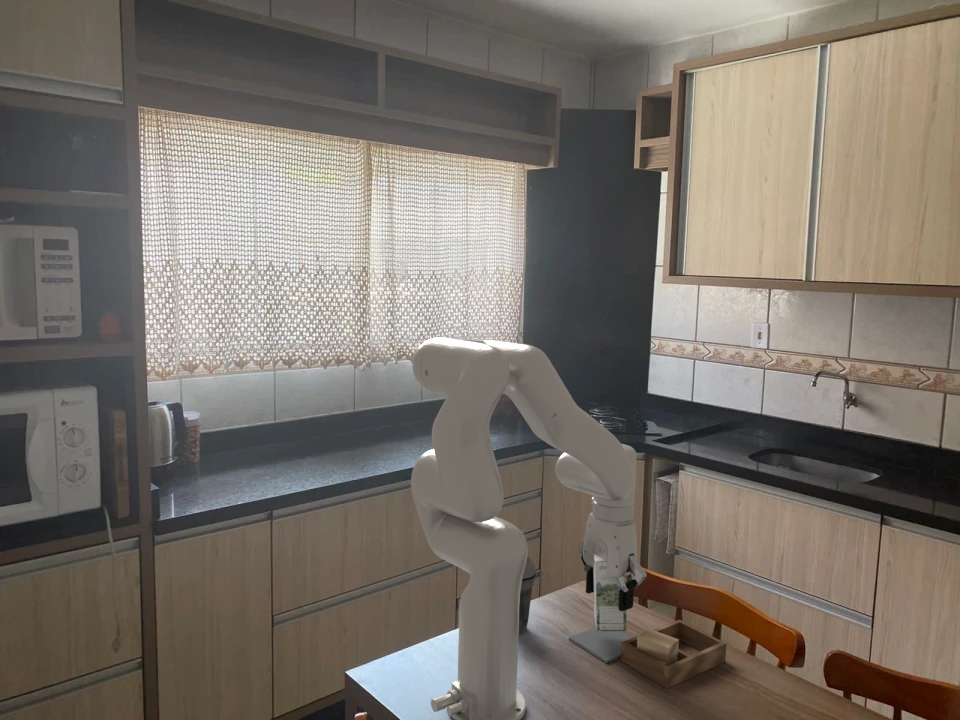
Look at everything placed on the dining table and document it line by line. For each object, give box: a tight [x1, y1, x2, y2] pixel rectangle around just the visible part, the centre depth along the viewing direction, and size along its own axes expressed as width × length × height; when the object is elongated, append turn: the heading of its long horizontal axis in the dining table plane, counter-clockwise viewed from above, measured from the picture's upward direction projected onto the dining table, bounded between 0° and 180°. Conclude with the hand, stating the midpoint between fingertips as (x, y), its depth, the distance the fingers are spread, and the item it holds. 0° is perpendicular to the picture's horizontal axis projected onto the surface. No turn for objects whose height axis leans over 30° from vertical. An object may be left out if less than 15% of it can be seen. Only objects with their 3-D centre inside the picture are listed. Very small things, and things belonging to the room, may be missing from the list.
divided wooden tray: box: [619, 619, 727, 689], centre depth 135 cm, size 16×11×4 cm
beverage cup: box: [518, 529, 536, 635], centre depth 144 cm, size 7×7×20 cm
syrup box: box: [593, 554, 628, 632], centre depth 139 cm, size 6×6×14 cm
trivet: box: [568, 626, 632, 664], centre depth 141 cm, size 10×10×1 cm
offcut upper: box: [637, 628, 680, 664], centre depth 132 cm, size 4×6×3 cm, turn 50°
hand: (608, 599), depth 140 cm, fingers closed on syrup box, 8 cm apart
